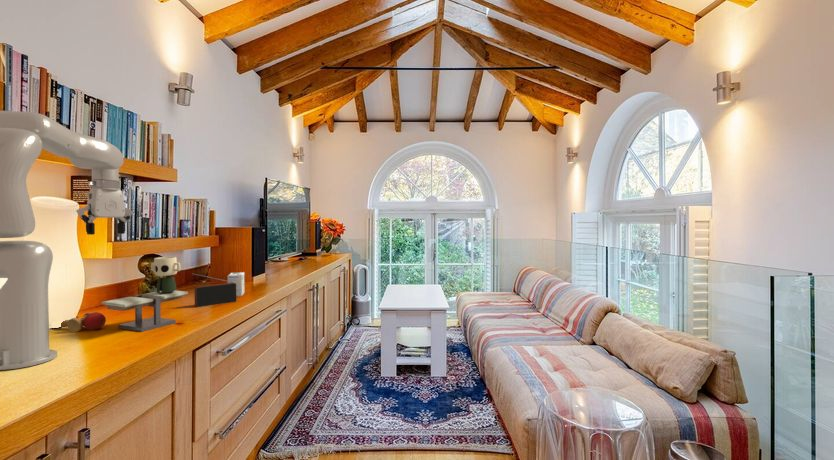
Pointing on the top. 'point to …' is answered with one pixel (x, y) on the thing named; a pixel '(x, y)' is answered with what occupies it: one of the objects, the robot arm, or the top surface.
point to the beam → (142, 300)
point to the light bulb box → (237, 282)
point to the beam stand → (147, 319)
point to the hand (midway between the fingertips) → (106, 234)
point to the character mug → (165, 273)
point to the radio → (215, 294)
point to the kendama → (85, 322)
